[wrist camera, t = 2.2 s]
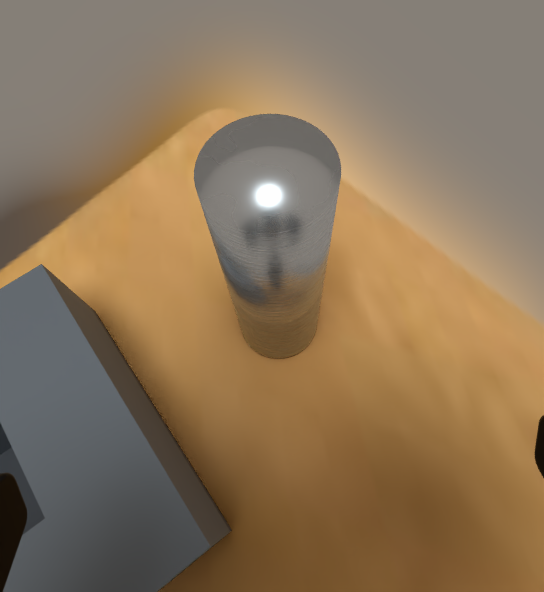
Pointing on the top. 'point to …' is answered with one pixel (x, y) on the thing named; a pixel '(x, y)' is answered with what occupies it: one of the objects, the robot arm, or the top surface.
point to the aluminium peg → (271, 224)
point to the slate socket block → (90, 454)
